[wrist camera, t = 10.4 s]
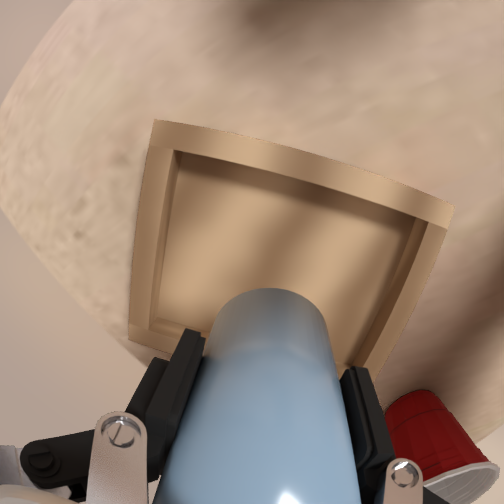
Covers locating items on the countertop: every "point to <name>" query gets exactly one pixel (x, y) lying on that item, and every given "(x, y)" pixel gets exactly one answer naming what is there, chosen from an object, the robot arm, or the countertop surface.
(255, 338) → the shaker
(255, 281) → the tray
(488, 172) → the countertop surface
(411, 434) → the plastic cup
